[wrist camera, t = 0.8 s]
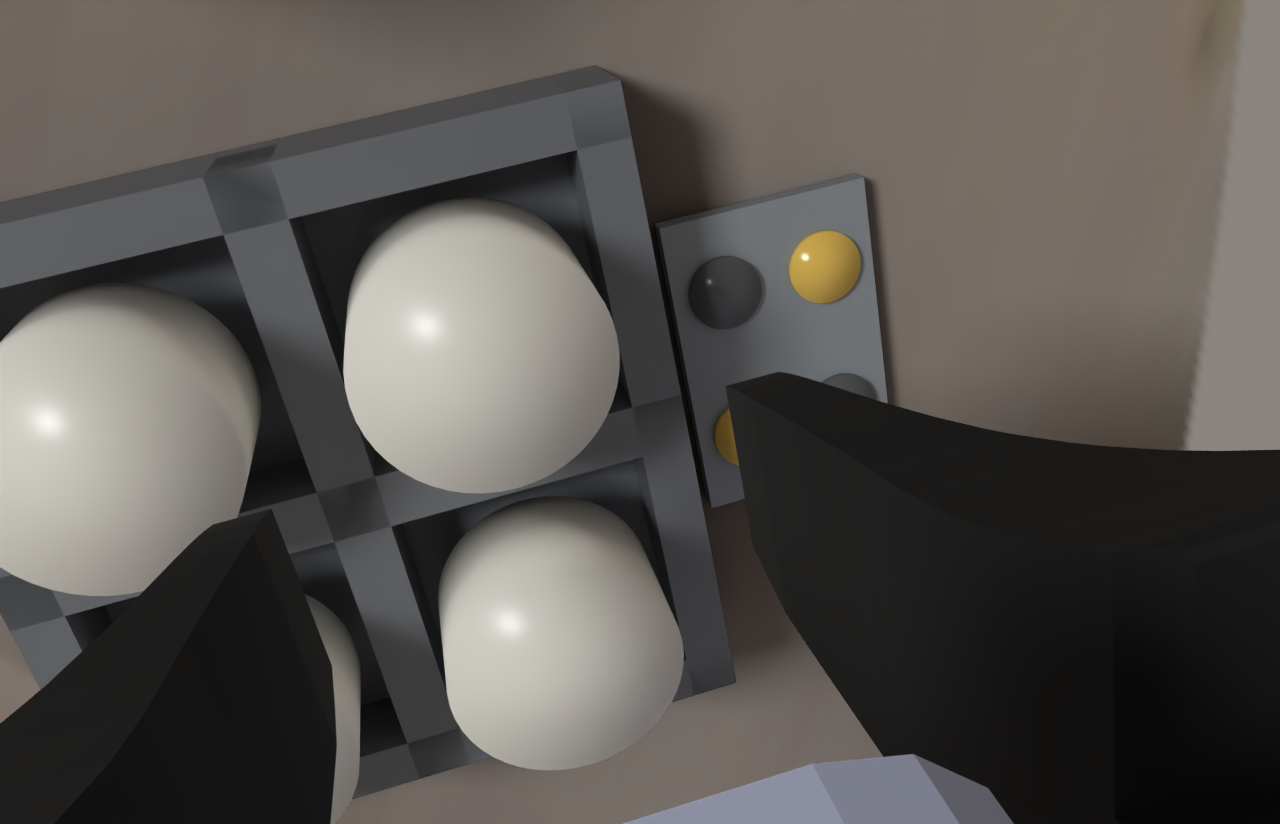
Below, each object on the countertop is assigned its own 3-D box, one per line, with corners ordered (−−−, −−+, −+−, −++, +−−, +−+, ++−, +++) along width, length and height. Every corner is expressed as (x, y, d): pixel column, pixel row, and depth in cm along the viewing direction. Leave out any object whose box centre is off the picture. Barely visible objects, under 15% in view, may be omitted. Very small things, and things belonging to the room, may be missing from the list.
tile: (885, 449, 24) (896, 459, 23) (706, 499, 23) (714, 511, 23) (855, 173, 21) (867, 178, 21) (654, 224, 21) (660, 230, 20)
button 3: (610, 392, 20) (642, 453, 17) (386, 452, 19) (389, 523, 17) (561, 169, 18) (589, 205, 16) (314, 229, 18) (305, 275, 15)
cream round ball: (387, 729, 21) (388, 826, 19) (176, 792, 21) (152, 899, 19) (323, 555, 20) (316, 638, 17) (92, 618, 19) (53, 713, 17)
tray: (707, 622, 25) (736, 682, 23) (154, 786, 23) (134, 865, 21) (595, 65, 19) (620, 80, 17) (-122, 230, 18) (-182, 267, 16)
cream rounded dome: (666, 646, 22) (701, 730, 20) (468, 705, 22) (480, 798, 19) (627, 471, 20) (661, 540, 18) (411, 531, 20) (417, 609, 18)
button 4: (294, 477, 19) (283, 553, 17) (53, 541, 19) (9, 628, 16) (212, 254, 17) (187, 304, 15) (-54, 319, 17) (-123, 380, 15)
